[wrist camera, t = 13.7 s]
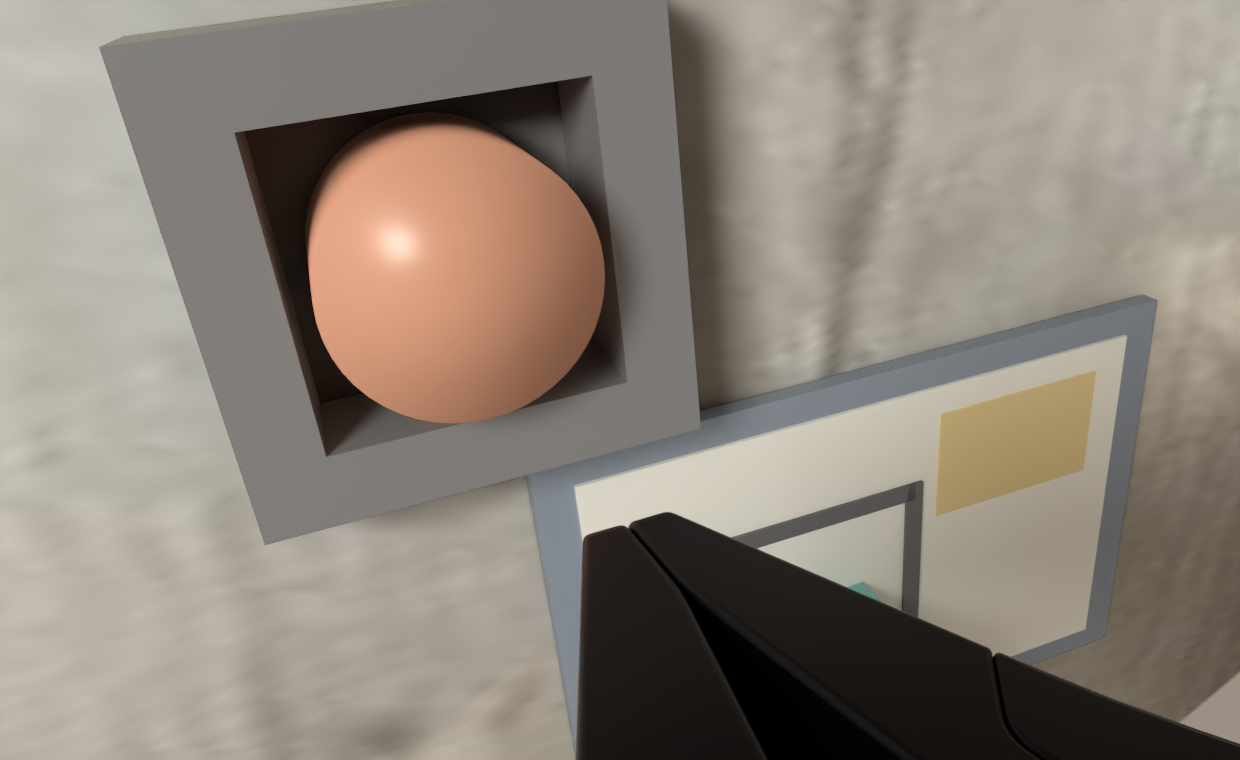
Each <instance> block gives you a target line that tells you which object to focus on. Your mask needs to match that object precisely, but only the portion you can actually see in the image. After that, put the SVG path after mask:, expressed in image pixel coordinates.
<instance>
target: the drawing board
mask: <svg viewBox="0 0 1240 760" xmlns="http://www.w3.org/2000/svg"><path fill="white" fill-rule="evenodd" d="M1156 305H1157V300H1155V299H1153V298H1150V297H1147V296H1145V295H1140V296H1136V297H1132V298H1128V299H1124V300H1121V301H1117V302H1113V303H1109V304H1105V305H1101V306H1098V307H1094V308H1090V309H1086V310H1082V311H1079V312H1075V313H1071V314H1067V315H1063V316H1059V317H1056V318H1052V319H1048V320H1044V321H1040V322H1037V323H1033V324H1029V325H1025V326H1021V327H1018V328H1014V329H1010V330H1006V331H1002V332H998V333H995V334H991V335H987V336H983V337H979V338H976V339H972V340H968V341H964V342H960V343H956V344H953V345H949V346H945V347H941V348H937V349H934V350H930V351H926V352H922V353H918V354H915V355H911V356H907V357H903V358H899V359H895V360H892V361H888V362H884V363H880V364H876V365H873V366H869V367H865V368H861V369H857V370H853V371H850V372H846V373H842V374H838V375H834V376H831V377H827V378H823V379H819V380H815V381H812V382H808V383H804V384H800V385H796V386H792V387H789V388H785V389H781V390H777V391H773V392H770V393H766V394H762V395H758V396H754V397H750V398H747V399H743V400H739V401H735V402H731V403H728V404H724V405H720V406H716V407H712V408H709V409H705V410H701V411H699V412H700V424H701V429H698V430H694V431H690V432H686V433H683V434H679V435H675V436H671V437H668V438H664V439H660V440H656V441H653V442H649V443H645V444H641V445H638V446H634V447H630V448H626V449H623V450H619V451H615V452H612V453H608V454H604V455H600V456H597V457H593V458H589V459H585V460H582V461H578V462H574V463H570V464H567V465H563V466H559V467H555V468H552V469H548V470H544V471H540V472H537V473H533V474H529V475H526V479H527V485H528V491H529V496H530V502H531V508H532V513H533V519H534V525H535V530H536V536H537V542H538V547H539V553H540V558H541V564H542V570H543V575H544V581H545V587H546V592H547V598H548V604H549V609H550V615H551V621H552V626H553V632H554V637H555V643H556V649H557V654H558V660H559V666H560V671H561V677H562V683H563V688H564V694H565V700H566V705H567V711H568V716H569V722H570V728H571V733H572V739H573V745H574V750H575V756H576V735H577V704H578V672H579V641H580V610H581V579H582V548H583V539H584V537H585V536H586V535H588V534H591V533H594V532H598V531H601V530H605V529H608V528H612V527H615V526H619V525H623V526H626V527H627V528H628V527H629V525H630V523H631V522H633V521H636V520H639V519H643V518H646V517H650V516H653V515H656V514H660V513H663V512H671V513H674V514H677V515H679V516H682V517H684V518H686V519H689V520H691V521H693V522H696V523H698V524H700V525H703V526H705V527H707V528H710V529H712V530H714V531H717V532H719V533H721V534H724V535H726V536H728V537H731V538H733V539H735V540H738V541H740V542H742V543H745V544H747V545H749V546H752V547H754V548H757V549H759V550H761V551H764V552H766V553H768V554H771V555H773V556H775V557H778V558H780V559H782V560H785V561H787V562H789V563H792V564H794V565H796V566H799V567H801V568H803V569H806V570H808V571H810V572H813V573H815V574H817V575H820V576H822V577H824V578H827V579H829V580H831V581H834V582H836V583H838V584H841V585H843V586H845V587H849V586H852V585H855V584H858V583H861V582H863V583H864V584H865V585H866V586H867V587H868V588H869V589H870V590H871V591H872V593H873V594H874V595H875V596H876V597H877V598H878V599H879V600H880V601H881V602H883V603H885V604H887V605H890V606H892V607H894V608H897V609H899V610H901V611H904V612H906V613H908V614H911V615H913V616H915V617H918V618H920V619H922V620H925V621H927V622H929V623H932V624H934V625H936V626H939V627H941V628H943V629H946V630H948V631H950V632H953V633H955V634H957V635H960V636H962V637H964V638H967V639H969V640H971V641H974V642H976V643H979V644H981V645H983V646H986V647H988V648H989V649H990V650H991V651H992V655H993V656H994V655H995V654H996V653H1003V654H1005V655H1007V656H1010V657H1012V658H1014V659H1017V660H1019V661H1021V662H1024V663H1026V664H1028V665H1032V664H1034V663H1037V662H1040V661H1042V660H1045V659H1048V658H1050V657H1053V656H1056V655H1059V654H1061V653H1064V652H1067V651H1069V650H1072V649H1075V648H1077V647H1080V646H1083V645H1085V644H1088V643H1091V642H1093V641H1096V640H1099V639H1102V638H1104V637H1105V635H1106V628H1107V622H1108V615H1109V609H1110V603H1111V596H1112V590H1113V583H1114V577H1115V570H1116V564H1117V557H1118V551H1119V544H1120V538H1121V531H1122V525H1123V518H1124V512H1125V505H1126V499H1127V493H1128V486H1129V480H1130V473H1131V467H1132V460H1133V454H1134V447H1135V441H1136V434H1137V428H1138V421H1139V415H1140V408H1141V402H1142V395H1143V389H1144V382H1145V376H1146V370H1147V363H1148V357H1149V350H1150V344H1151V337H1152V331H1153V324H1154V318H1155V311H1156Z"/></svg>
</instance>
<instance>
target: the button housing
mask: <svg viewBox="0 0 1240 760" xmlns="http://www.w3.org/2000/svg"><path fill="white" fill-rule="evenodd" d="M99 48H100V51H101V54H102V57H103V60H104V63H105V66H106V69H107V72H108V75H109V78H110V81H111V84H112V87H113V90H114V93H115V96H116V99H117V102H118V105H119V108H120V111H121V114H122V117H123V120H124V123H125V126H126V129H127V132H128V135H129V138H130V141H131V144H132V147H133V150H134V153H135V156H136V159H137V162H138V165H139V168H140V171H141V174H142V177H143V180H144V183H145V186H146V189H147V192H148V195H149V198H150V201H151V204H152V207H153V210H154V213H155V216H156V219H157V222H158V225H159V228H160V231H161V234H162V237H163V240H164V243H165V246H166V249H167V252H168V255H169V258H170V261H171V264H172V267H173V270H174V273H175V276H176V279H177V282H178V285H179V288H180V291H181V294H182V297H183V300H184V303H185V306H186V309H187V312H188V315H189V318H190V321H191V324H192V327H193V330H194V333H195V336H196V339H197V342H198V345H199V348H200V351H201V354H202V357H203V360H204V363H205V366H206V369H207V372H208V375H209V378H210V381H211V384H212V387H213V390H214V393H215V396H216V399H217V402H218V405H219V408H220V411H221V414H222V417H223V420H224V423H225V426H226V429H227V432H228V435H229V438H230V441H231V444H232V447H233V450H234V453H235V456H236V459H237V462H238V465H239V468H240V471H241V474H242V477H243V480H244V483H245V486H246V489H247V492H248V495H249V498H250V501H251V504H252V507H253V510H254V513H255V516H256V519H257V522H258V525H259V528H260V531H261V534H262V537H263V540H264V543H265V545H267V544H271V543H275V542H279V541H282V540H286V539H290V538H294V537H297V536H301V535H305V534H309V533H312V532H316V531H320V530H324V529H327V528H331V527H335V526H339V525H342V524H346V523H350V522H353V521H357V520H361V519H365V518H368V517H372V516H376V515H380V514H383V513H387V512H391V511H395V510H398V509H402V508H406V507H410V506H413V505H417V504H421V503H425V502H428V501H432V500H436V499H439V498H443V497H447V496H451V495H454V494H458V493H462V492H466V491H469V490H473V489H477V488H481V487H484V486H488V485H492V484H496V483H499V482H503V481H507V480H511V479H514V478H518V477H522V476H525V475H529V474H533V473H537V472H540V471H544V470H548V469H552V468H555V467H559V466H563V465H567V464H570V463H574V462H578V461H582V460H585V459H589V458H593V457H597V456H600V455H604V454H608V453H612V452H615V451H619V450H623V449H626V448H630V447H634V446H638V445H641V444H645V443H649V442H653V441H656V440H660V439H664V438H668V437H671V436H675V435H679V434H683V433H686V432H690V431H694V430H698V429H701V424H700V412H699V399H698V386H697V374H696V361H695V349H694V336H693V323H692V311H691V298H690V285H689V273H688V260H687V247H686V235H685V222H684V209H683V197H682V184H681V171H680V159H679V146H678V133H677V121H676V108H675V96H674V83H673V70H672V58H671V45H670V32H669V20H668V7H667V0H398V1H391V2H383V3H375V4H368V5H360V6H353V7H345V8H337V9H330V10H322V11H314V12H307V13H299V14H292V15H284V16H276V17H269V18H261V19H253V20H246V21H238V22H231V23H223V24H215V25H208V26H200V27H192V28H185V29H177V30H170V31H162V32H154V33H147V34H139V35H131V36H124V37H121V38H119V39H116V40H114V41H112V42H109V43H107V44H105V45H103V46H100V47H99ZM555 81H557V83H558V91H559V99H560V106H561V114H562V121H563V129H564V137H565V144H566V152H567V159H568V167H569V175H570V182H571V189H572V190H573V191H574V192H575V194H576V195H577V196H578V197H579V199H580V200H581V202H582V203H583V205H584V206H585V208H586V209H587V211H588V213H589V215H590V217H591V219H592V221H593V223H594V225H595V228H596V231H597V234H598V237H599V240H600V243H601V247H602V253H603V258H604V268H605V286H604V297H603V302H602V307H601V312H600V315H599V318H598V321H597V324H596V327H595V330H594V332H593V334H592V336H591V340H589V343H588V345H587V346H586V348H585V350H584V351H583V353H582V354H581V356H580V357H579V359H578V360H577V362H576V363H575V364H574V365H573V367H572V368H571V369H570V370H569V371H568V373H567V374H566V375H565V376H564V377H563V378H562V379H561V380H560V381H559V382H558V383H557V384H555V385H554V386H553V387H552V388H551V389H549V390H548V391H547V392H545V393H544V394H543V395H541V396H540V397H539V398H537V399H535V400H534V401H532V402H530V403H529V404H527V405H525V406H523V407H521V408H519V409H517V410H514V411H512V412H510V413H508V414H504V415H501V416H498V417H495V418H492V419H487V420H482V421H477V422H469V423H455V424H454V423H436V422H430V421H424V420H418V419H415V418H412V417H409V416H405V415H402V414H399V413H397V412H395V411H393V410H390V409H388V408H386V407H384V406H382V405H381V404H379V403H377V402H376V401H374V400H372V399H371V398H369V397H368V396H367V395H365V394H364V393H362V394H358V395H354V396H349V397H345V398H341V399H337V400H332V401H328V402H324V403H320V400H319V396H318V393H317V389H316V386H315V382H314V378H313V375H312V371H311V368H310V364H309V360H308V357H307V353H306V350H305V346H304V343H303V339H302V335H301V332H300V328H299V325H298V321H297V317H296V314H295V310H294V307H293V303H292V300H291V296H290V292H289V289H288V285H287V282H286V278H285V274H284V271H283V267H282V264H281V260H280V256H279V253H278V249H277V246H276V242H275V239H274V235H273V231H272V228H271V224H270V221H269V217H268V213H267V210H266V206H265V203H264V199H263V196H262V192H261V188H260V185H259V181H258V178H257V174H256V170H255V167H254V163H253V160H252V156H251V152H250V149H249V145H248V142H247V138H246V135H245V131H248V130H254V129H260V128H267V127H273V126H279V125H285V124H292V123H298V122H304V121H311V120H317V119H323V118H329V117H336V116H342V115H348V114H354V113H361V112H367V111H373V110H379V109H386V108H392V107H398V106H405V105H411V104H417V103H423V102H430V101H436V100H442V99H448V98H455V97H461V96H467V95H474V94H480V93H486V92H492V91H499V90H505V89H511V88H517V87H524V86H530V85H536V84H542V83H549V82H555Z"/></svg>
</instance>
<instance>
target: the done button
mask: <svg viewBox="0 0 1240 760" xmlns="http://www.w3.org/2000/svg"><path fill="white" fill-rule="evenodd" d="M305 240H306V253H307V262H308V270H309V278H310V287H311V295H312V304H313V309H314V314H315V319H316V323H317V326H318V329H319V332H320V335H321V338H322V341H323V342H324V344H325V346H326V348H327V350H328V352H329V354H330V356H331V358H332V359H333V361H334V362H335V363H336V365H337V366H338V368H339V369H340V370H341V372H342V373H343V374H344V375H345V376H346V377H347V378H348V379H349V380H350V381H351V383H352V384H353V385H354V386H356V387H357V388H358V389H359V390H360V391H362V392H363V393H364V394H365V395H367V396H368V397H369V398H371V399H372V400H374V401H376V402H377V403H379V404H381V405H382V406H384V407H386V408H388V409H390V410H393V411H395V412H397V413H399V414H402V415H405V416H409V417H412V418H415V419H418V420H424V421H430V422H436V423H454V424H455V423H469V422H477V421H482V420H487V419H492V418H495V417H498V416H501V415H504V414H508V413H510V412H512V411H514V410H517V409H519V408H521V407H523V406H525V405H527V404H529V403H530V402H532V401H534V400H535V399H537V398H539V397H540V396H541V395H543V394H544V393H545V392H547V391H548V390H549V389H551V388H552V387H553V386H554V385H555V384H557V383H558V382H559V381H560V380H561V379H562V378H563V377H564V376H565V375H566V374H567V373H568V371H569V370H570V369H571V368H572V367H573V365H574V364H575V363H576V362H577V360H578V359H579V357H580V356H581V354H582V353H583V351H584V350H585V348H586V346H587V345H588V343H589V340H590V338H591V336H592V334H593V332H594V330H595V327H596V324H597V321H598V318H599V315H600V312H601V307H602V302H603V297H604V286H605V268H604V258H603V253H602V247H601V243H600V240H599V237H598V234H597V231H596V228H595V225H594V223H593V221H592V219H591V217H590V215H589V213H588V211H587V209H586V208H585V206H584V205H583V203H582V202H581V200H580V199H579V197H578V196H577V195H576V194H575V192H574V191H573V190H572V189H571V188H570V187H569V186H568V185H567V183H566V182H565V181H564V180H562V179H561V178H560V177H559V176H558V175H557V174H555V173H554V172H553V171H552V170H551V169H549V168H548V167H547V166H545V165H544V164H542V163H541V162H540V161H538V160H537V159H535V158H534V157H533V156H531V155H530V154H528V153H527V152H526V151H524V150H523V149H521V148H520V147H519V146H517V145H516V144H514V143H513V142H512V141H510V140H509V139H507V138H506V137H505V136H503V135H501V134H500V133H498V132H497V131H495V130H494V129H492V128H490V127H488V126H486V125H484V124H482V123H480V122H477V121H475V120H472V119H469V118H465V117H462V116H458V115H452V114H446V113H431V112H425V113H414V114H407V115H403V116H399V117H394V118H391V119H388V120H386V121H383V122H381V123H378V124H376V125H374V126H372V127H370V128H368V129H367V130H365V131H363V132H361V133H360V134H359V135H357V136H356V137H354V138H353V139H352V140H350V141H349V142H348V143H347V144H346V145H345V146H344V147H343V148H342V149H341V150H340V151H339V152H337V153H336V154H335V156H334V157H333V158H332V160H331V161H330V162H329V164H328V165H327V166H326V167H325V169H324V171H323V172H322V174H321V176H320V178H319V180H318V181H317V183H316V186H315V188H314V191H313V193H312V196H311V198H310V203H309V207H308V211H307V216H306V227H305Z"/></svg>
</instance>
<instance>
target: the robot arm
mask: <svg viewBox="0 0 1240 760" xmlns="http://www.w3.org/2000/svg"><path fill="white" fill-rule="evenodd" d="M576 760H1240V744H1238V743H1235V742H1232V741H1229V740H1226V739H1223V738H1221V737H1218V736H1215V735H1212V734H1209V733H1206V732H1203V731H1200V730H1197V729H1194V728H1192V727H1189V726H1186V725H1183V724H1181V723H1178V722H1175V721H1172V720H1170V719H1167V718H1164V717H1161V716H1159V715H1156V714H1153V713H1150V712H1147V711H1145V710H1142V709H1139V708H1136V707H1134V706H1131V705H1128V704H1125V703H1123V702H1120V701H1117V700H1114V699H1112V698H1109V697H1107V696H1104V695H1102V694H1099V693H1097V692H1094V691H1092V690H1089V689H1087V688H1084V687H1082V686H1080V685H1077V684H1075V683H1072V682H1070V681H1067V680H1065V679H1062V678H1060V677H1057V676H1055V675H1052V674H1050V673H1047V672H1045V671H1042V670H1040V669H1038V668H1035V667H1033V666H1031V665H1028V664H1026V663H1024V662H1021V661H1019V660H1017V659H1014V658H1012V657H1010V656H1007V655H1005V654H1003V653H996V654H995V655H994V656H993V655H992V651H991V650H990V649H989V648H988V647H986V646H983V645H981V644H979V643H976V642H974V641H971V640H969V639H967V638H964V637H962V636H960V635H957V634H955V633H953V632H950V631H948V630H946V629H943V628H941V627H939V626H936V625H934V624H932V623H929V622H927V621H925V620H922V619H920V618H918V617H915V616H913V615H911V614H908V613H906V612H904V611H901V610H899V609H897V608H894V607H892V606H890V605H887V604H885V603H883V602H880V601H878V600H876V599H873V598H871V597H869V596H866V595H864V594H862V593H859V592H857V591H855V590H852V589H850V588H848V587H845V586H843V585H841V584H838V583H836V582H834V581H831V580H829V579H827V578H824V577H822V576H820V575H817V574H815V573H813V572H810V571H808V570H806V569H803V568H801V567H799V566H796V565H794V564H792V563H789V562H787V561H785V560H782V559H780V558H778V557H775V556H773V555H771V554H768V553H766V552H764V551H761V550H759V549H757V548H754V547H752V546H749V545H747V544H745V543H742V542H740V541H738V540H735V539H733V538H731V537H728V536H726V535H724V534H721V533H719V532H717V531H714V530H712V529H710V528H707V527H705V526H703V525H700V524H698V523H696V522H693V521H691V520H689V519H686V518H684V517H682V516H679V515H677V514H674V513H671V512H663V513H660V514H656V515H653V516H650V517H646V518H643V519H639V520H636V521H633V522H631V523H630V525H629V527H628V528H627V527H626V526H623V525H619V526H615V527H612V528H608V529H605V530H601V531H598V532H594V533H591V534H588V535H586V536H585V537H584V539H583V548H582V579H581V610H580V641H579V672H578V704H577V735H576Z"/></svg>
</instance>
